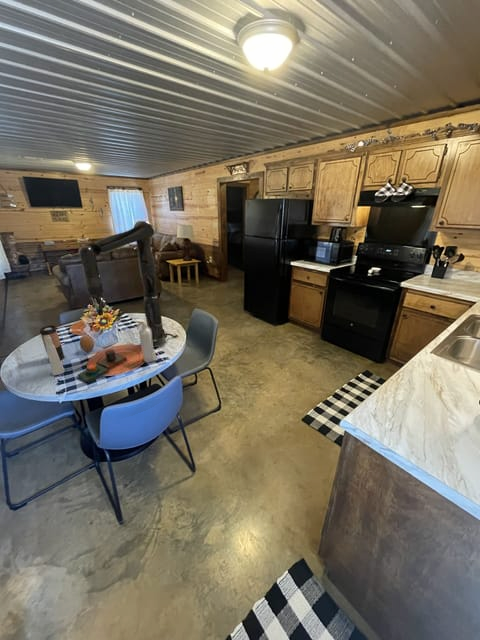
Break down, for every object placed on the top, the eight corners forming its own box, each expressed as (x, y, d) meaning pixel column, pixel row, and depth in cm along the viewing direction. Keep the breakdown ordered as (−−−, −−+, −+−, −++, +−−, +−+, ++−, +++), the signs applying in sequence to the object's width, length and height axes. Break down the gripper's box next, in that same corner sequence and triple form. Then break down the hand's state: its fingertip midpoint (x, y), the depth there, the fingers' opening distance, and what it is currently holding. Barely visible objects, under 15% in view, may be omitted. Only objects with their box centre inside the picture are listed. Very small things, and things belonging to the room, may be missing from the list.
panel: (115, 356, 157) (115, 352, 156) (127, 360, 152) (126, 356, 151) (97, 365, 147) (96, 361, 146) (108, 370, 143) (107, 366, 142)
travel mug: (67, 357, 156) (58, 326, 148) (55, 363, 149) (45, 331, 142) (58, 354, 158) (49, 324, 151) (46, 361, 152) (35, 330, 144)
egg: (79, 352, 161) (74, 336, 157) (90, 347, 167) (86, 331, 163) (87, 355, 158) (83, 339, 154) (98, 349, 164) (94, 334, 160)
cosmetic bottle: (53, 370, 143) (41, 334, 134) (65, 368, 145) (54, 332, 136) (50, 376, 138) (38, 339, 129) (64, 373, 140) (52, 337, 131)
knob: (104, 360, 148) (102, 352, 146) (112, 356, 152) (110, 348, 150) (110, 362, 146) (108, 354, 144) (118, 358, 150) (116, 350, 148)
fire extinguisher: (153, 365, 148) (147, 324, 138) (138, 359, 153) (131, 320, 143) (162, 359, 153) (156, 320, 143) (147, 354, 159) (141, 316, 149)
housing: (98, 367, 145) (96, 361, 144) (108, 372, 141) (106, 366, 140) (78, 377, 137) (76, 371, 135) (88, 383, 132) (87, 376, 131)
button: (93, 366, 140) (92, 363, 139) (97, 368, 138) (96, 365, 137) (86, 370, 137) (86, 367, 136) (91, 372, 135) (90, 369, 135)
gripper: (108, 284, 139) (114, 315, 145) (93, 281, 145) (99, 311, 151) (94, 288, 133) (101, 319, 139) (79, 284, 139) (87, 315, 145)
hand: (100, 315), depth 145 cm, fingers closed
